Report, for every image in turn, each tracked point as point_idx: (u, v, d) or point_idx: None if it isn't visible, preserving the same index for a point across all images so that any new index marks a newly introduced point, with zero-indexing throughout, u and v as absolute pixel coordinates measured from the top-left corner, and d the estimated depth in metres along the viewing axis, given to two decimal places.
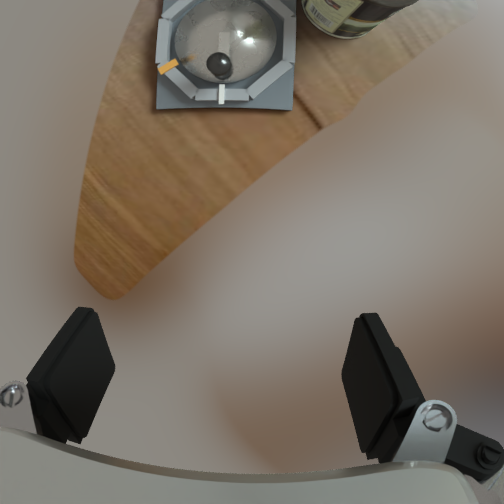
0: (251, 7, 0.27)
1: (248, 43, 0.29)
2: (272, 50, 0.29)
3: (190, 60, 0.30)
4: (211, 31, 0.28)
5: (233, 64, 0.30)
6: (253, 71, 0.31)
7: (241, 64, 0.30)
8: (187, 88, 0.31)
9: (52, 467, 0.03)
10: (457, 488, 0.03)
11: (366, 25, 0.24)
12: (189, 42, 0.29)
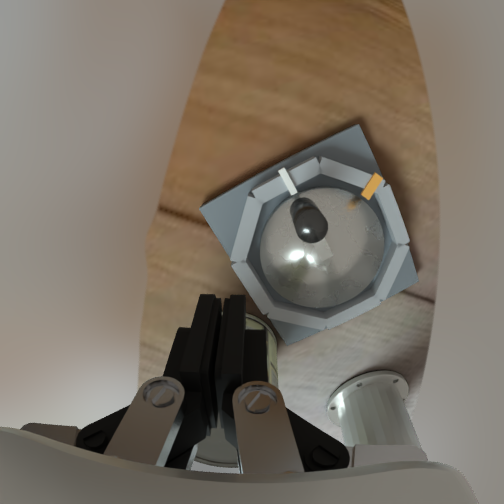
0: (315, 300, 0.30)
1: (293, 257, 0.28)
2: (263, 264, 0.28)
3: (348, 204, 0.26)
4: (343, 251, 0.28)
5: None
6: (268, 228, 0.27)
7: (286, 229, 0.27)
8: (333, 168, 0.25)
9: (52, 467, 0.03)
10: (457, 488, 0.03)
11: None
12: (361, 226, 0.27)
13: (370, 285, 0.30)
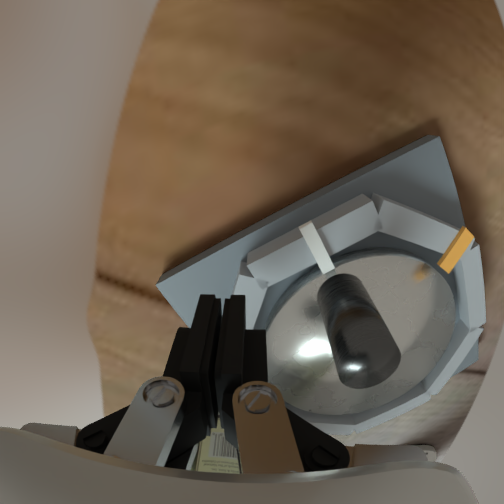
0: (343, 407, 0.18)
1: (317, 363, 0.16)
2: None
3: (416, 281, 0.14)
4: None
5: None
6: (276, 324, 0.15)
7: (309, 325, 0.15)
8: (401, 220, 0.12)
9: (52, 467, 0.03)
10: (457, 488, 0.03)
11: None
12: (428, 311, 0.15)
13: None
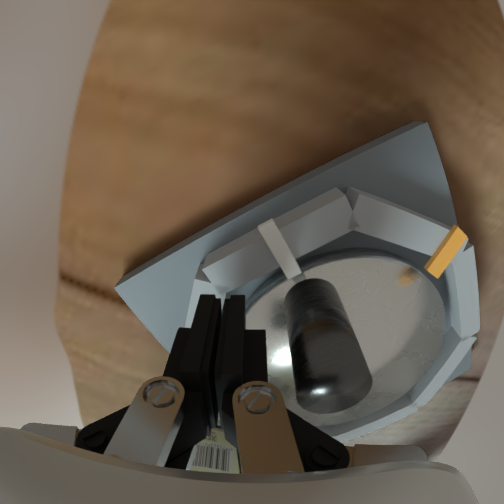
0: (321, 419, 0.17)
1: (289, 374, 0.15)
2: None
3: (400, 286, 0.13)
4: (376, 358, 0.14)
5: None
6: None
7: (276, 334, 0.14)
8: (381, 218, 0.11)
9: (52, 467, 0.03)
10: (457, 488, 0.03)
11: None
12: (414, 320, 0.13)
13: None
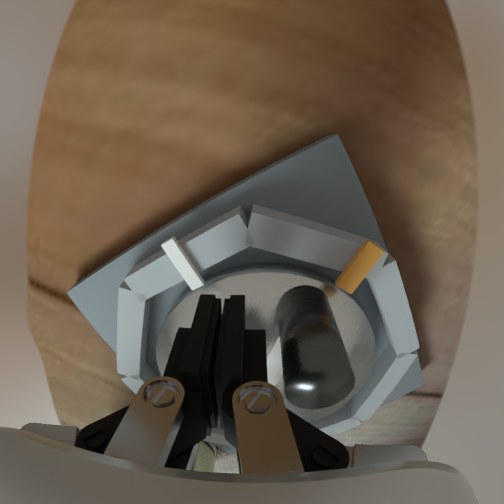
0: None
1: None
2: (172, 316, 0.14)
3: (357, 349, 0.15)
4: None
5: (273, 313, 0.14)
6: (231, 282, 0.13)
7: (254, 308, 0.14)
8: (278, 234, 0.12)
9: (52, 467, 0.03)
10: (457, 488, 0.03)
11: None
12: None
13: None
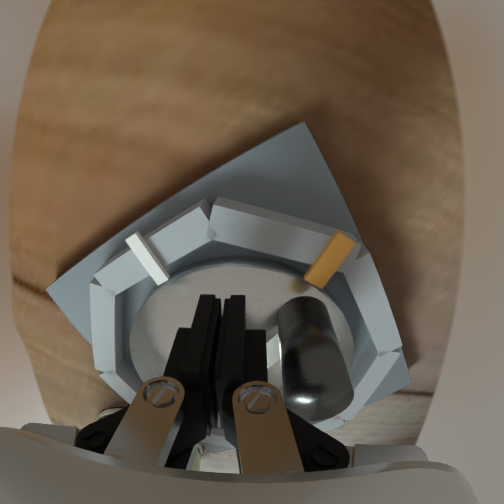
0: None
1: None
2: (168, 287, 0.13)
3: None
4: None
5: (272, 315, 0.14)
6: (246, 272, 0.13)
7: (257, 304, 0.13)
8: (240, 227, 0.12)
9: (52, 467, 0.03)
10: (457, 488, 0.03)
11: None
12: None
13: None
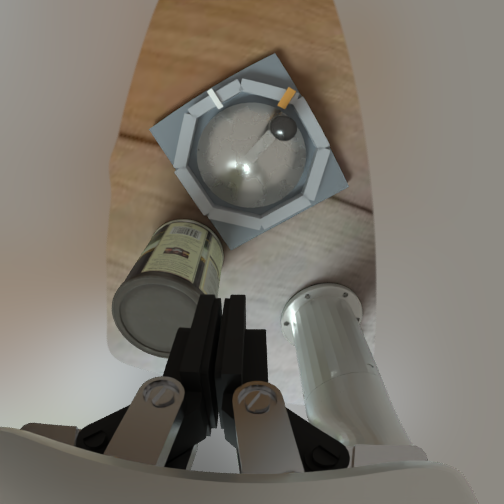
0: (206, 168, 0.33)
1: (237, 133, 0.31)
2: (222, 112, 0.30)
3: (296, 158, 0.32)
4: (258, 170, 0.33)
5: (265, 124, 0.31)
6: (254, 104, 0.30)
7: (259, 118, 0.30)
8: (252, 86, 0.29)
9: (52, 467, 0.03)
10: (457, 488, 0.03)
11: (142, 253, 0.33)
12: (283, 176, 0.33)
13: (300, 189, 0.35)
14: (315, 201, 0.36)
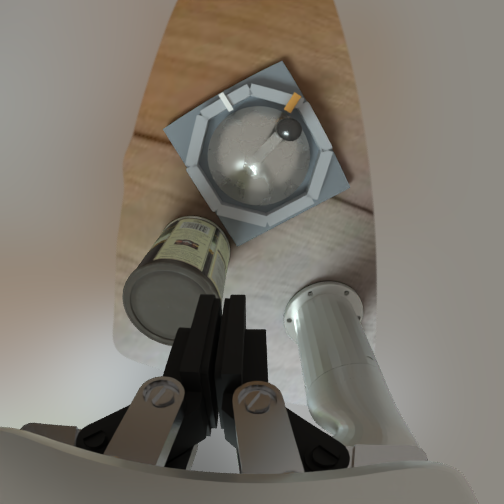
0: (216, 166, 0.35)
1: (246, 135, 0.33)
2: (232, 114, 0.32)
3: (301, 159, 0.34)
4: (264, 170, 0.35)
5: (272, 126, 0.33)
6: (262, 108, 0.32)
7: (266, 121, 0.33)
8: (260, 90, 0.31)
9: (52, 467, 0.03)
10: (457, 488, 0.03)
11: (153, 245, 0.35)
12: (288, 175, 0.35)
13: (304, 188, 0.37)
14: (318, 201, 0.38)
